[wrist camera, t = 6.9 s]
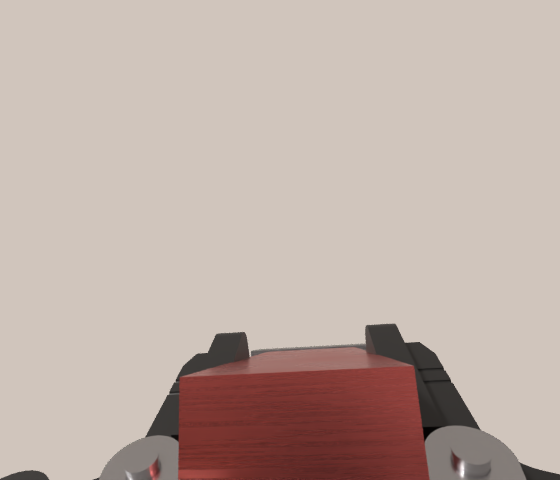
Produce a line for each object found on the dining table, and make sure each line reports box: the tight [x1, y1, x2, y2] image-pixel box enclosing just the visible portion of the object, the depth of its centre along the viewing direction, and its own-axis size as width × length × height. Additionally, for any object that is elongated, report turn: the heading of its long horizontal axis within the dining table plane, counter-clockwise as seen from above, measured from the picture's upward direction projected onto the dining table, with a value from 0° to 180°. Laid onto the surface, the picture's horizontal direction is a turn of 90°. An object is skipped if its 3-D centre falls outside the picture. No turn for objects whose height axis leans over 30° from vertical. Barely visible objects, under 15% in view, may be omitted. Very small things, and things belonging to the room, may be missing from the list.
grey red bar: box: [178, 344, 430, 480], centre depth 15 cm, size 22×8×3 cm, turn 174°
